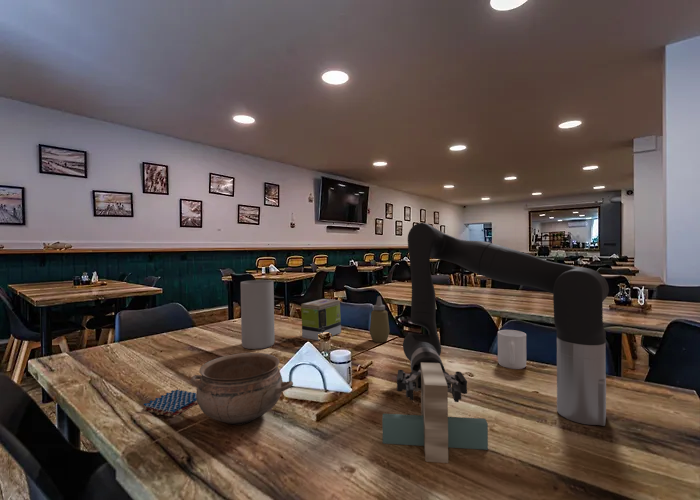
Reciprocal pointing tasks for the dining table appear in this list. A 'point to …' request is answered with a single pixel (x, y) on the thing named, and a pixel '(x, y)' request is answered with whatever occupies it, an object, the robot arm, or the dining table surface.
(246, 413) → the cooking pot
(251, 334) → the cylinder vase
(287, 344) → the dining table surface
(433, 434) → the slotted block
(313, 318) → the tea box
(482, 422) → the rail
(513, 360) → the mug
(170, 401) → the woven mat
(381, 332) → the squeeze bottle
